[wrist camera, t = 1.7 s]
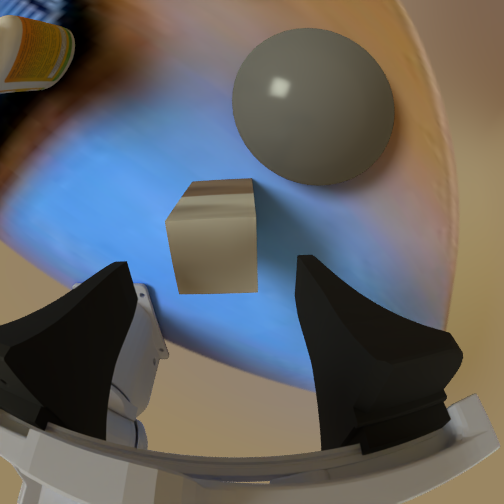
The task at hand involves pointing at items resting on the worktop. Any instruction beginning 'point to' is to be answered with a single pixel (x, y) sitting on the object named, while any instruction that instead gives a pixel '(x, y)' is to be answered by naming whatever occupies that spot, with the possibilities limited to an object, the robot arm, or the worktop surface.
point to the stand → (313, 106)
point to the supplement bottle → (32, 54)
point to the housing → (214, 238)
